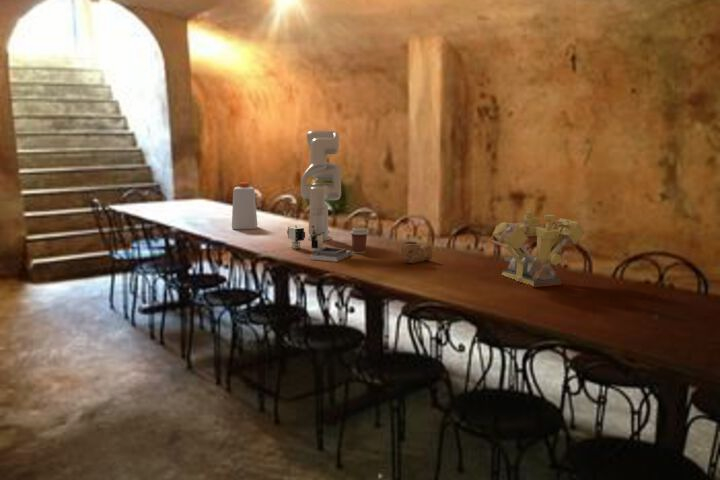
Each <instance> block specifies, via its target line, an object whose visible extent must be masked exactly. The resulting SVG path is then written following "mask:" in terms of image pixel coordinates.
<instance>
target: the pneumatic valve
mask: <svg viewBox="0 0 720 480" xmlns="http://www.w3.org/2000/svg"><path fill="white" fill-rule="evenodd" d="M286 233H287V238H288V240H291V248H292V249H295V250H296V249H301V241H304V240H305V239H306V231H305V228H303V227H302V226H298V225H297V224H295V225H292V226H291V225H289V226H287V231H286Z"/></svg>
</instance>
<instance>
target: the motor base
mask: <svg viewBox="0 0 720 480" xmlns="http://www.w3.org/2000/svg"><path fill="white" fill-rule="evenodd" d="M350 256H352V250H347V248H339V247H329V246H325V247H324V246H323V248H322V249H319V250H315V252H314V253H312V254H310V255H309V260H310V261H311V260H313V261H324V262H334V263H337V262H340V261H342V260H344V259H346V258H348V257H350Z"/></svg>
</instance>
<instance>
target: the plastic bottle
mask: <svg viewBox="0 0 720 480" xmlns="http://www.w3.org/2000/svg"><path fill="white" fill-rule="evenodd" d="M232 191H233V192H232V213H231V215H232V216H231V229H233V230H235V229H236V230H237V231H247V230H248V231H250V230H251V231H252V229H253V230H255V229H257V228H258V216H257V204H256V191H255V187H253V186H250V183H249V182H248V181H246V182H239V183H238V186H235V187H234V188H233V190H232ZM236 230H235V231H236Z"/></svg>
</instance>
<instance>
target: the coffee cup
mask: <svg viewBox="0 0 720 480" xmlns="http://www.w3.org/2000/svg"><path fill="white" fill-rule="evenodd" d="M349 233H350V234H351V242H352V243H351V245H352V253H354V254H365V253H366V246H367V239H368V238H367V236H368V234H369V231H368V230H367V228H365V227H352V230H351V231H349Z"/></svg>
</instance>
